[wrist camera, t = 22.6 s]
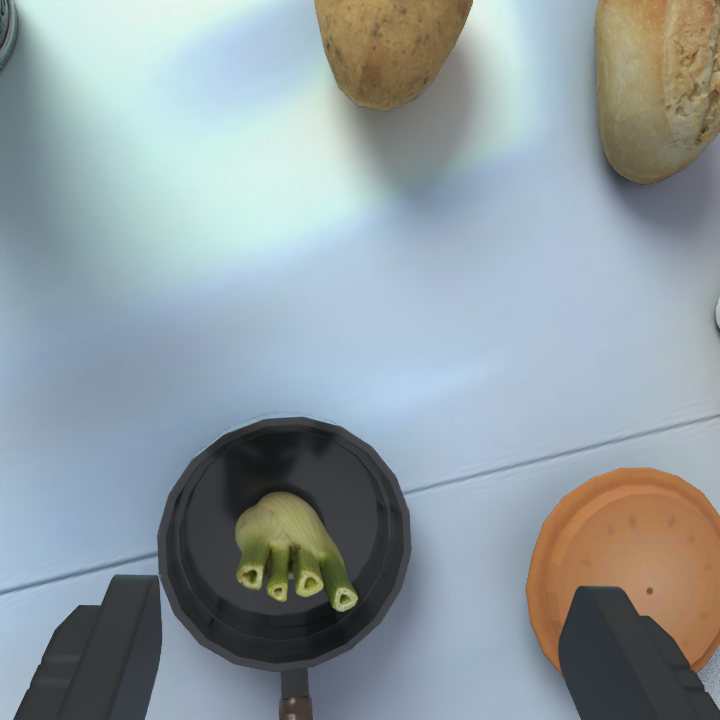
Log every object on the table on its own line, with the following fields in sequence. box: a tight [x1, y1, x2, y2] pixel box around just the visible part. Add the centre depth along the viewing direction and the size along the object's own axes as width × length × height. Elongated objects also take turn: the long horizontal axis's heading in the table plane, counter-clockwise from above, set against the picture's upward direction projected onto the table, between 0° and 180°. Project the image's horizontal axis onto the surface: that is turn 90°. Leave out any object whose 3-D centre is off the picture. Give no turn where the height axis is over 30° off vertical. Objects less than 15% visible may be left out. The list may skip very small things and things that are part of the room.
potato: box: [314, 0, 473, 111], centre depth 38 cm, size 10×14×8 cm
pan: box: [157, 413, 411, 672], centre depth 38 cm, size 15×15×4 cm
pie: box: [526, 468, 720, 678], centre depth 41 cm, size 16×16×5 cm
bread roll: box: [594, 0, 720, 185], centre depth 41 cm, size 10×15×8 cm, turn 7°
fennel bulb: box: [235, 491, 358, 612], centre depth 33 cm, size 6×5×12 cm
